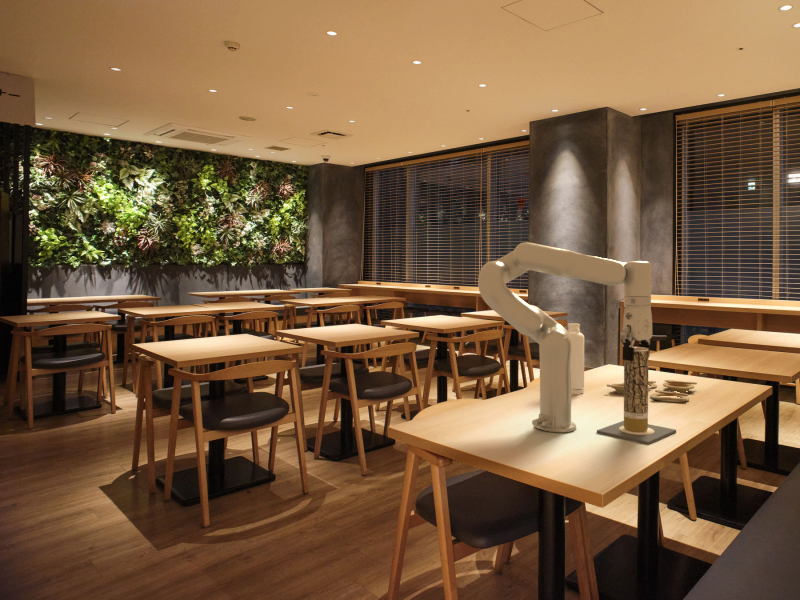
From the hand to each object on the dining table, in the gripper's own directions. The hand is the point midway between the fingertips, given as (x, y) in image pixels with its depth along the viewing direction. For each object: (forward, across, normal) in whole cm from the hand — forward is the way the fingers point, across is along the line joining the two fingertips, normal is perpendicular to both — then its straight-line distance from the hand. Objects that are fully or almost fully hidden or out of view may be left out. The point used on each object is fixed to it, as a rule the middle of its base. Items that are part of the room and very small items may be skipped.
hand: (636, 358), depth 171 cm
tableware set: (+23, +60, +23) cm, 68 cm away
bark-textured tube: (+22, 0, 0) cm, 22 cm away
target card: (+23, 0, 0) cm, 23 cm away
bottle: (+23, +37, +45) cm, 63 cm away
